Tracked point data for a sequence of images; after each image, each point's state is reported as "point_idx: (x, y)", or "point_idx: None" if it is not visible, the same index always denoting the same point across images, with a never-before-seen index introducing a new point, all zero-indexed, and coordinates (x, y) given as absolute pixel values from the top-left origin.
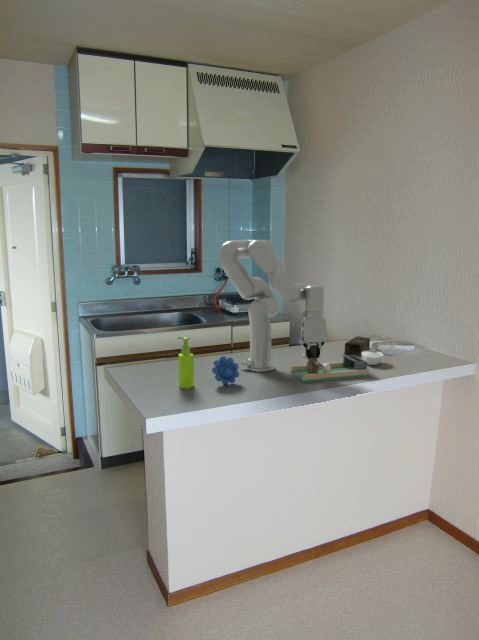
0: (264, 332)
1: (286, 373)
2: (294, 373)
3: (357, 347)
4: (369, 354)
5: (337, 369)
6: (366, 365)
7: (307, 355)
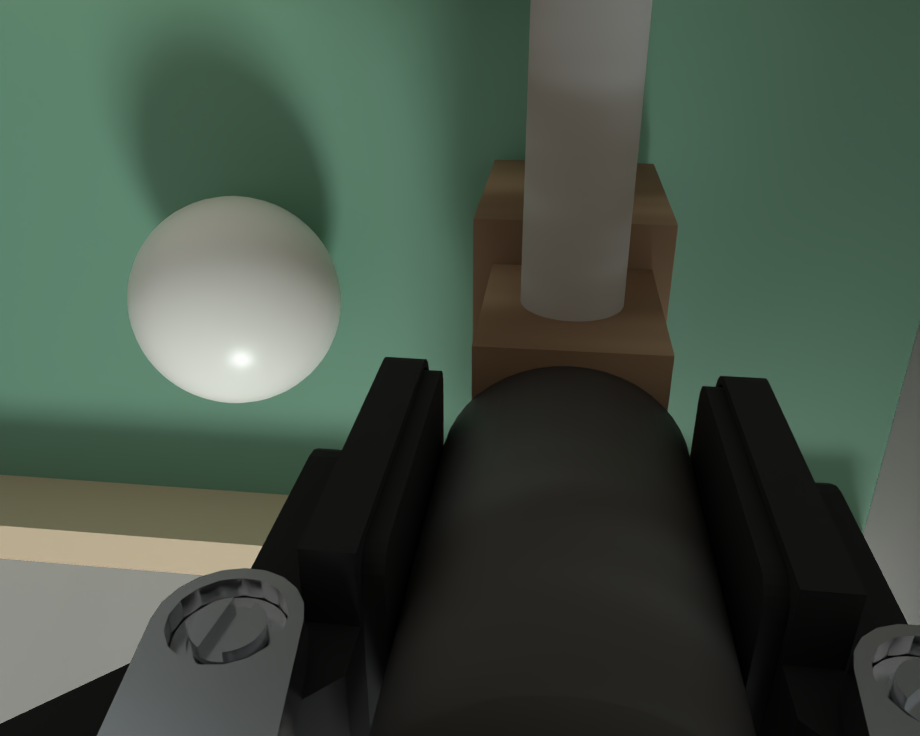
0: None
1: (905, 553)
2: (895, 406)
3: None
4: None
5: (1, 363)
6: None
7: (828, 487)
